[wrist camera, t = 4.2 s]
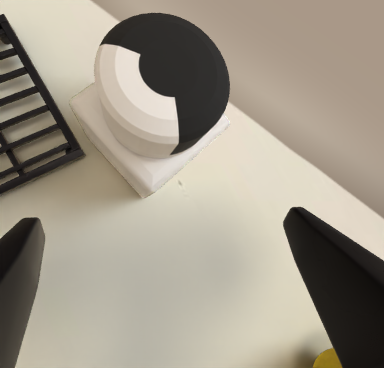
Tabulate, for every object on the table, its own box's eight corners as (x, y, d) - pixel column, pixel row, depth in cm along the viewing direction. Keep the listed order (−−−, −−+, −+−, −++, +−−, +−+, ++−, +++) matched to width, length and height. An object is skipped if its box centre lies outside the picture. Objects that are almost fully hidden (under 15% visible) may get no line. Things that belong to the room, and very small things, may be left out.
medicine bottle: (150, 87, 23) (175, -41, 11) (202, 148, 23) (277, 87, 12) (85, 135, 21) (32, 43, 9) (143, 200, 21) (162, 189, 10)
